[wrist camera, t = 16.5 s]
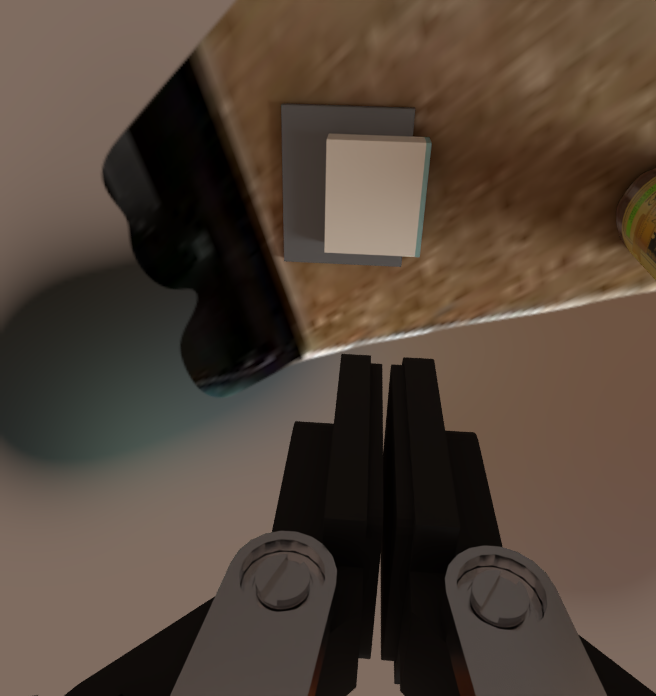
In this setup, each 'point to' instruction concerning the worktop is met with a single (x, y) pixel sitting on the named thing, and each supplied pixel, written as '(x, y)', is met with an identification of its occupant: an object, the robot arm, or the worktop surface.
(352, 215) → the cream tile
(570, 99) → the worktop surface
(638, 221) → the sauce bottle
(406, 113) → the rubber mat
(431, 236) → the worktop surface
